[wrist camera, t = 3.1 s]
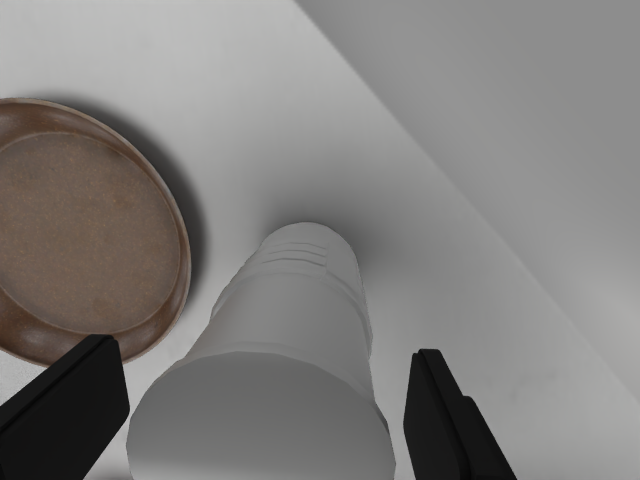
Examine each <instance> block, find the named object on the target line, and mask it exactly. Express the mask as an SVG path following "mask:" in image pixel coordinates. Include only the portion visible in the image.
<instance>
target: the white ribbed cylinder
mask: <svg viewBox="0 0 640 480" xmlns="http://www.w3.org/2000/svg"><path fill="white" fill-rule="evenodd" d="M372 339H373V334H372V329H371V324H370V319H369V314H368V309H367V304H366V299H365V294H364V289H363V284H362V279H361V277H360V275H359V268H358V263H357V258H356V256H355V254H354V252H353V251H352V249H351V247H350V245H349V244H348V243H347V242H346V241H345V240H344V239H343V238H342V237H341V236H340V235H339V234H337V233H336V232H335V231H333V230H332V229H330V228H329V227H327V226H325V225H322V224H318V223H315V222H301V223H296V224H291V225H287V226H284V227H282V228H280V229H278V230H276V231H274V232H272V233H271V234H270V235H269V236H268V237H267V238H266V239H265V240H264V241H263V242H262V244H261V245H260V247H259V249H258V250H257V251H256V252H255V253H254V254H253V255H252V256H251V257H250V258H248V259H247V261H246V262H245V264H244V265H243V266H242V267H241V268H240V270H239V271H238V273H237V274H236V275H235V276H234V277H233V278H232V280H231V281H230V283H229V284H228V285H227V286H226V287H225V288H224V290H223V291H222V293H221V294H220V296H219V298H218V300H217V301H216V303H215V305H214V306H213V309H212V313H211V317H210V321H209V324H208V326H207V327H206V328H205V330H204V331H203V333H202V334H201V335H200V337H199V338H198V339H197V341H196V342H195V344H194V345H193V346H192V348H191V349H190V351H189V352H188V353H187V355H186V356H185V357H184V358H183V359H181V360H179V361H177V362H175V363H174V364H173V365H172V366H171V367H170V368H169V369H168V370H166V371H165V372H164V373H163V374H162V375H161V376H160V377H159V378H157V379H156V380H155V381H154V382H153V383H152V385H151V386H150V387H149V389H148V390H147V391H146V392H145V394H144V396H143V397H142V399H141V401H140V403H139V404H138V406H137V408H136V410H135V412H134V413H133V415H132V417H131V419H130V425H129V431H128V436H127V442H126V449H127V455H128V461H129V467H130V473H131V475H132V477H133V479H134V480H394V474H395V466H396V463H395V458H394V452H393V447H392V443H391V438H390V434H389V429H388V424H387V421H386V419H385V418H384V416H383V414H382V413H381V411H380V409H379V407H378V406H377V404H376V402H375V398H374V391H373V385H372V379H371V372H370V366H369V358H370V356H371V350H372Z"/></svg>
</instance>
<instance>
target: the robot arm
mask: <svg viewBox="0 0 640 480" xmlns="http://www.w3.org/2000/svg"><path fill="white" fill-rule="evenodd" d="M129 412H130V405H129V399H128V393H127V388H126V382H125V376H124V371H123V365H122V359H121V354H120V348H119V343H118V341H117V340H115V339H114V337H113V336H112V335H109V334H90V335H88V336H87V337H85V338H84V339H83V340H82V341H81V342H79V343H78V344H77V345H76V346H74V347H73V348H72V349H71V350H69V351H68V352H67V353H66V354H64V355H63V356H62V357H61V358H60V359H58V360H57V361H56V362H55V363H53V364H52V365H51V366H50V367H48V368H47V369H46V370H45V371H43V372H42V373H41V374H40V375H38V376H37V377H36V378H35V379H34V380H32V381H31V382H30V383H29V384H27V385H26V386H25V387H24V388H22V389H21V390H20V391H19V392H17V393H16V394H15V395H14V396H13V397H11V398H10V399H9V400H8V401H6V402H5V403H4V404H3V405H1V406H0V480H83V479H84V477H85V476H86V474H87V473H88V472H89V470H90V469H91V468H92V466H93V465H94V464H95V462H96V461H97V459H98V458H99V457H100V455H101V454H102V453H103V451H104V450H105V448H106V447H107V446H108V444H109V443H110V442H111V440H112V439H113V437H114V436H115V435H116V433H117V432H118V431H119V429H120V428H121V426H122V425H123V424H124V422H125V421H126V419H127V417H128V415H129ZM403 427H404V434H405V438H406V442H407V446H408V450H409V454H410V458H411V462H412V466H413V470H414V474H415V478H416V480H517V478H516V476H515V475H514V473H513V471H512V469H511V467H510V465H509V464H508V462H507V460H506V458H505V456H504V455H503V453H502V451H501V449H500V447H499V445H498V444H497V442H496V440H495V438H494V436H493V434H492V433H491V431H490V429H489V427H488V425H487V424H486V422H485V420H484V418H483V416H482V414H481V413H480V411H479V409H478V407H477V405H476V403H475V402H474V400H473V399H472V398H471V397H469V396H463V395H462V393H461V391H460V389H459V387H458V385H457V383H456V381H455V379H454V377H453V375H452V373H451V371H450V369H449V368H448V366H447V364H446V362H445V360H444V358H443V356H442V354H441V352H440V351H439V350H438V349H419V351H418V353H414V354H413V355H412V362H411V369H410V376H409V384H408V391H407V399H406V406H405V413H404V421H403Z"/></svg>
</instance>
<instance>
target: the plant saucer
mask: <svg viewBox="0 0 640 480" xmlns="http://www.w3.org/2000/svg"><path fill="white" fill-rule="evenodd" d="M190 279H191V251H190V245H189V239H188V234H187V230H186V226H185V223H184V220H183V217H182V215H181V212H180V210H179V207H178V205H177V203H176V201H175V199H174V197H173V195H172V193H171V192H170V190H169V188H168V187H167V185H166V183H165V182H164V180H163V179H162V178H161V176H160V175H159V173H158V172H157V171H156V170H155V168H154V167H153V166H152V165H151V163H150V162H149V161H148V160H147V159H146V158H145V157H144V156H143V155H142V154H141V153H140V152H139V151H138V150H137V149H136V148H135V147H134V146H133V145H132V144H131V143H130V142H129V141H127V140H126V139H125V138H124V137H122V136H121V135H120V134H119V133H117V132H116V131H114V130H113V129H111V128H110V127H108V126H107V125H105V124H104V123H102V122H100V121H98V120H96V119H94V118H92V117H90V116H89V115H87V114H85V113H82V112H80V111H78V110H75V109H73V108H70V107H67V106H64V105H61V104H58V103H54V102H49V101H45V100H39V99H30V98H5V99H0V350H2V351H4V352H6V353H8V354H10V355H12V356H14V357H16V358H18V359H21V360H24V361H27V362H29V363H32V364H35V365H39V366H42V367H46V368H48V367H50V366H51V365H52V364H53V363H55V362H56V361H57V360H58V359H60V358H61V357H62V356H63V355H64V354H66V353H67V352H68V351H69V350H71V349H72V348H73V347H74V346H76V345H77V344H78V343H79V342H81V341H82V340H83V339H84V338H85V337H87V336H88V335H90V334H109V335H112V336H113V337H114V339H115V340H117V341H118V343H119V348H120V354H121V359H122V365H123V364H126V363H128V362H131V361H133V360H135V359H137V358H139V357H141V356H143V355H144V354H146V353H147V352H149V351H150V350H151V349H153V348H154V347H155V346H157V345H158V344H159V343H160V342H161V341H162V340H163V339H164V338H165V337H166V336H167V335H168V333H169V332H170V331H171V329H172V328H173V326H174V325H175V323H176V322H177V320H178V318H179V317H180V314H181V312H182V310H183V308H184V305H185V303H186V299H187V296H188V292H189V287H190Z"/></svg>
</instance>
